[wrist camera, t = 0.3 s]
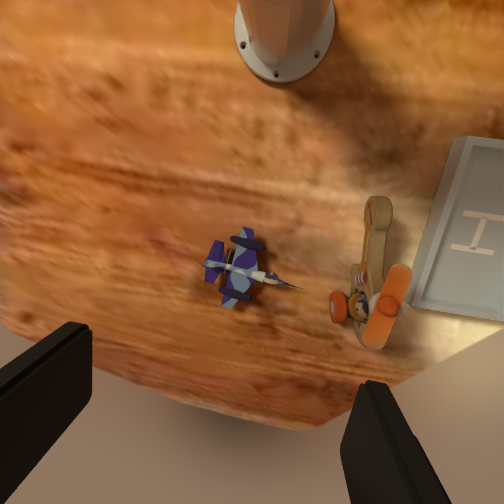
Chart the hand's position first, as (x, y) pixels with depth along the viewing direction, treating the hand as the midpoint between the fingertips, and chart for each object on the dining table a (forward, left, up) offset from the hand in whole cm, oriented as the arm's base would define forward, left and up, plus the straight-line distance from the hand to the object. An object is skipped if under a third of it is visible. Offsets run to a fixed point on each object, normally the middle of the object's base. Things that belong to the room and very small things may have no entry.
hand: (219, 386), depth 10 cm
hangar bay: (-3, +31, -35) cm, 47 cm away
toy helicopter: (+5, +16, -36) cm, 39 cm away
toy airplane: (+8, -1, -36) cm, 37 cm away
